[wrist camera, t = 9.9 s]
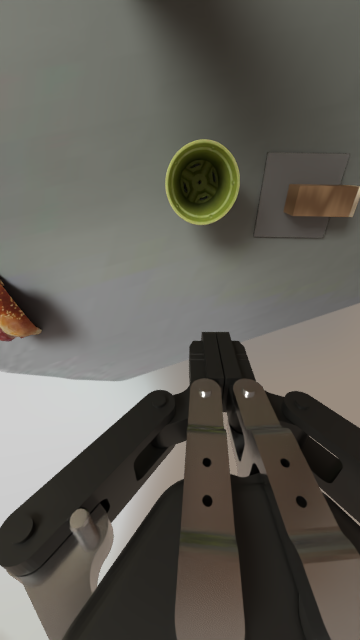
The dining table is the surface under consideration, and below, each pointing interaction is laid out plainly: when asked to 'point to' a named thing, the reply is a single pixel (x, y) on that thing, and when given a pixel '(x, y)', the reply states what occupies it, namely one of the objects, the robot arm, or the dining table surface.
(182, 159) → the plant pot
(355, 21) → the dining table surface
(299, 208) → the tan wooden block
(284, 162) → the mat
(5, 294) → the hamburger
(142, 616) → the robot arm
